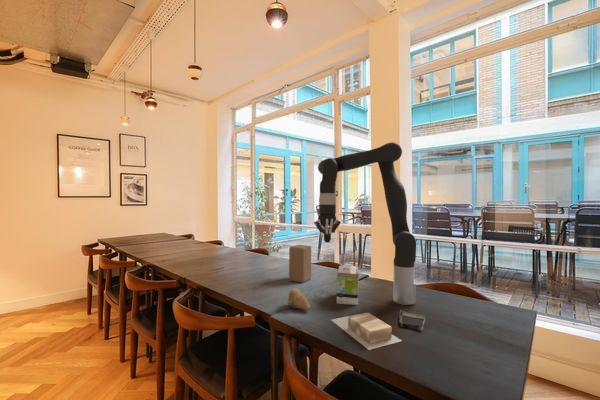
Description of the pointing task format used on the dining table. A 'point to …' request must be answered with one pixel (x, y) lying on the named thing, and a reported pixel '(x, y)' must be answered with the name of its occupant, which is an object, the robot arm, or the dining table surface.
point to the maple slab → (370, 327)
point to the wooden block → (300, 263)
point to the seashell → (298, 300)
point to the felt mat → (344, 325)
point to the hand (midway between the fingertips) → (327, 242)
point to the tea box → (347, 285)
